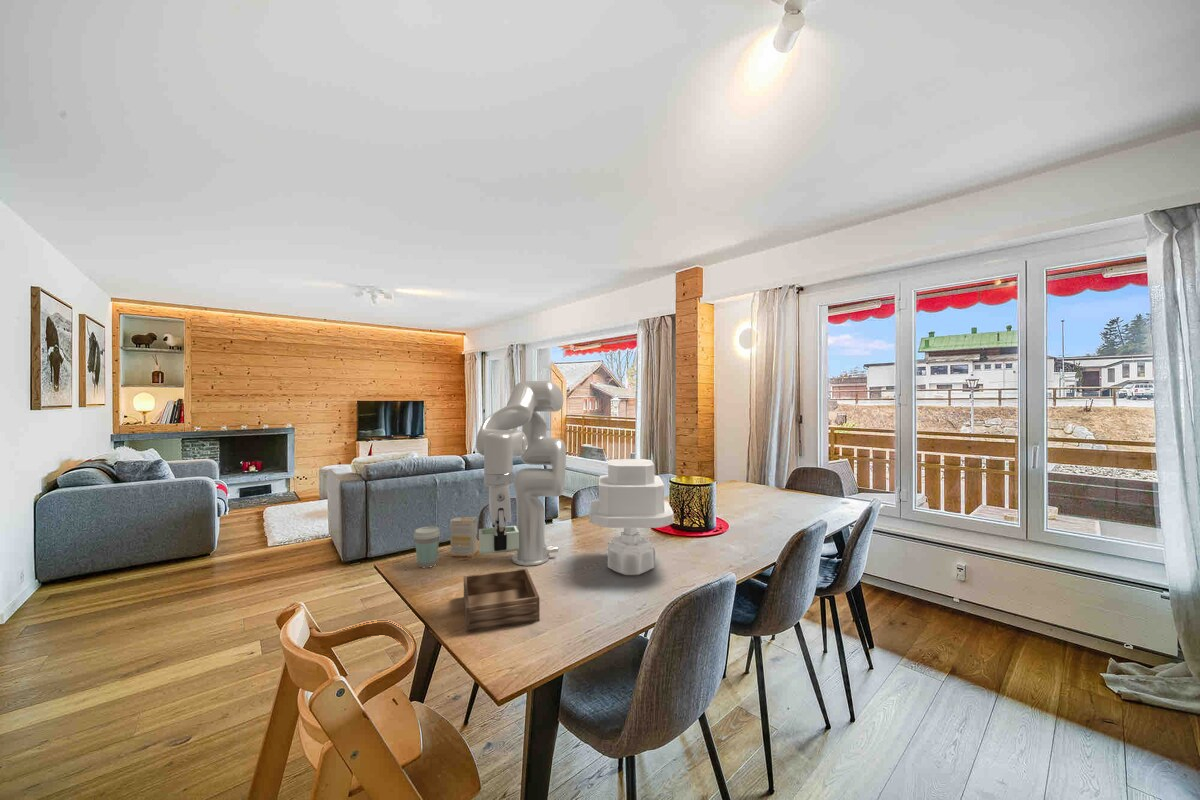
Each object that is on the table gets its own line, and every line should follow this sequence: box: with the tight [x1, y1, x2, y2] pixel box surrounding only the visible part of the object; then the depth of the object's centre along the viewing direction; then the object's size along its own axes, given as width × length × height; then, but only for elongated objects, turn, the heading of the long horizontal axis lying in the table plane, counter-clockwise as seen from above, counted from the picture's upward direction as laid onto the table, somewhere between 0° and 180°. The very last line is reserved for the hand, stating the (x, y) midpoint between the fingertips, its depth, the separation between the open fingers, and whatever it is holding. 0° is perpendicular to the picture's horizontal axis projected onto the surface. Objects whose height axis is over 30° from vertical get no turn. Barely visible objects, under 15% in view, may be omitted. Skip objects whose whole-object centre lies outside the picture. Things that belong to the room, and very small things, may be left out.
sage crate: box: [478, 525, 519, 556], centre depth 123 cm, size 10×6×5 cm, turn 108°
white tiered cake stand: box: [588, 458, 675, 576], centre depth 151 cm, size 27×27×35 cm
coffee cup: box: [413, 526, 441, 568], centre depth 154 cm, size 9×8×12 cm
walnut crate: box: [463, 568, 541, 633], centre depth 123 cm, size 18×21×6 cm
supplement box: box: [449, 516, 478, 558], centre depth 164 cm, size 8×5×13 cm, turn 84°
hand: (499, 545), depth 123 cm, fingers closed on sage crate, 6 cm apart
